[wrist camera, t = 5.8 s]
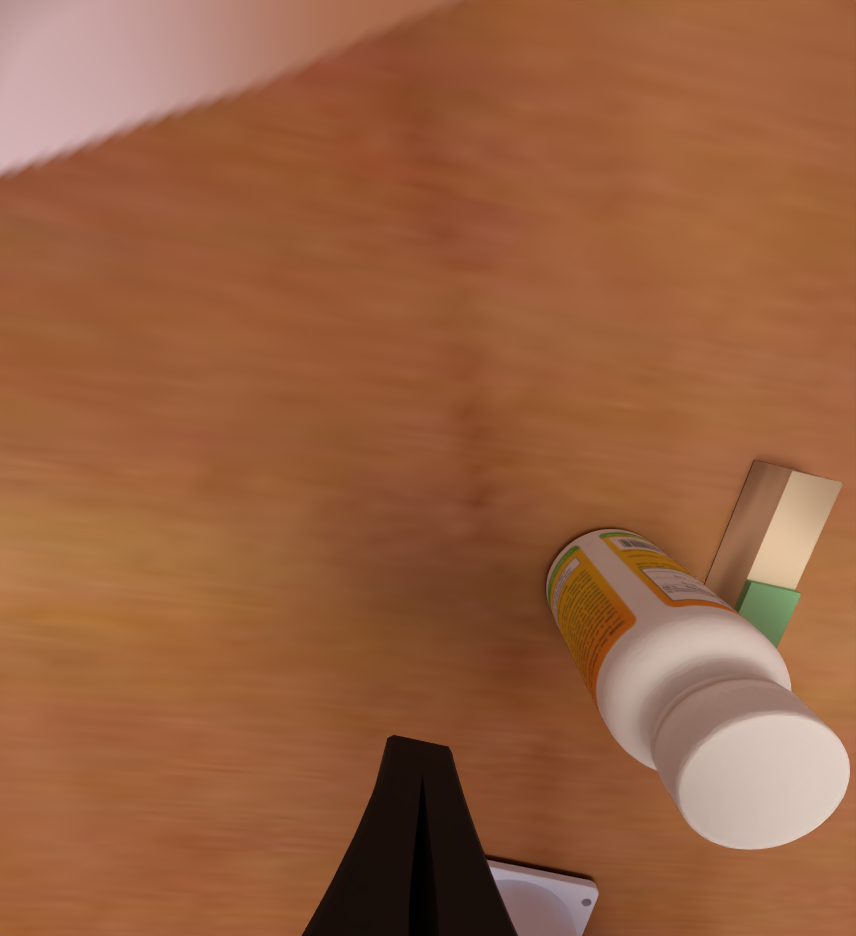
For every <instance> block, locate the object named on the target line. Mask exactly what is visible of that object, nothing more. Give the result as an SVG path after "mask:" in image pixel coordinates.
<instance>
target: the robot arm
mask: <svg viewBox="0 0 856 936" xmlns="http://www.w3.org/2000/svg"><path fill="white" fill-rule="evenodd" d="M598 895H599V893H598V889H597V886H596V884H595V883H594V882H593V881H590V880H586V879H581V878H576V877H571V876H566V875H561V874H556V873H551V872H546V871H541V870H536V869H531V868H526V867H521V866H516V865H511V864H506V863H501V862H496V861H491V860H487V859H486V857H485V854H484V851H483V849H482V846H481V843H480V841H479V838H478V835H477V833H476V830H475V827H474V824H473V821H472V818H471V815H470V812H469V809H468V806H467V803H466V800H465V797H464V794H463V791H462V787H461V784H460V781H459V777H458V774H457V770H456V767H455V763H454V759H453V755H452V752H451V750H450V749H449V747H448V746H443V745H438V744H434V743H429V742H424V741H420V740H415V739H410V738H406V737H401V736H397V735H393V736H391V737H389V738H387V742H386V746H385V750H384V754H383V757H382V761H381V765H380V769H379V773H378V777H377V781H376V784H375V788H374V790H373V793H372V796H371V798H370V800H369V803H368V805H367V808H366V810H365V812H364V815H363V817H362V819H361V822H360V824H359V826H358V829H357V831H356V833H355V835H354V837H353V839H352V842H351V844H350V846H349V848H348V850H347V852H346V854H345V856H344V858H343V860H342V862H341V864H340V866H339V868H338V870H337V872H336V874H335V876H334V878H333V880H332V882H331V884H330V886H329V887H328V889H327V891H326V893H325V895H324V897H323V899H322V900H321V902H320V904H319V906H318V908H317V910H316V911H315V913H314V915H313V917H312V918H311V920H310V922H309V924H308V926H307V927H306V929H305V931H304V933H303V934H302V936H582V934H583V932H584V930H585V927H586V925H587V922H588V920H589V917H590V915H591V913H592V910H593V908H594V905H595V903H596V900H597V898H598Z"/></svg>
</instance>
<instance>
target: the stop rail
mask: <svg viewBox="0 0 856 936" xmlns="http://www.w3.org/2000/svg"><path fill="white" fill-rule="evenodd" d="M842 484H843V482H839V481H835V480H832V479H828V478H824V477H821V476H817V475H813V474H810V473H806V472H802V471H799V470H794V469H790V468H786V467H781V466H777V465H773V464H769V463H764V462H760V461H756V460H754V463H753V465H752V468H751V470H750V473H749V475H748V478H747V480H746V483H745V485H744V488H743V490H742V493H741V495H740V498H739V500H738V503H737V505H736V508H735V510H734V513H733V515H732V518H731V520H730V523H729V525H728V528H727V530H726V533H725V535H724V538H723V540H722V543H721V545H720V548H719V550H718V553H717V555H716V558H715V560H714V563H713V565H712V568H711V570H710V572H709V575H708V577H707V580H706V582H705V586H706V587H707V588H708V589H709V590H711V591H712V592H713V593H714V594H716V595H717V596H718V597H719V598H720V599H722V600H723V601H724V602H725V603H727V604H728V605H729V606H730V607H732V608H733V609H734V610H735V611H737V612H738V613H739V614H740V615H742V616H743V617H744V618H745V619H746V620H748V621H749V622H750V623H751V624H752V625H753V626H755V627H756V628H757V629H758V630H759V631H760V632H761V633H762V634H763V635H765V637H766V638H767V639H768V640H769V641H770V642H771V643H772V644H773V645H774V646H775V648H776V649H777V646H778V644H779V642H780V640H781V638H782V635H783V633H784V631H785V629H786V627H787V624H788V622H789V620H790V618H791V616H792V613H793V611H794V609H795V607H796V605H797V602H798V600H799V598H800V596H801V593H799V592H798V591H796V590H795V588H796V586H797V584H798V582H799V580H800V577H801V575H802V573H803V571H804V568H805V566H806V564H807V562H808V560H809V557H810V555H811V553H812V551H813V548H814V546H815V544H816V542H817V540H818V537H819V535H820V533H821V531H822V528H823V526H824V524H825V522H826V520H827V517H828V515H829V513H830V511H831V509H832V506H833V504H834V502H835V500H836V497H837V495H838V493H839V491H840V489H841V486H842Z"/></svg>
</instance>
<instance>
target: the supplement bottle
mask: <svg viewBox="0 0 856 936" xmlns="http://www.w3.org/2000/svg"><path fill="white" fill-rule="evenodd" d="M546 594H547V601H548V604H549V607H550V610H551V612H552V615H553V617H554V619H555V622H556V624H557V626H558V628H559V630H560V632H561V634H562V636H563V638H564V640H565V642H566V644H567V646H568V648H569V650H570V652H571V655H572V657H573V659H574V661H575V663H576V665H577V667H578V669H579V672H580V674H581V676H582V678H583V680H584V682H585V685H586V686H587V688H588V690H589V692H590V694H591V696H592V699H593V700H594V703H595V705H596V707H597V709H598V711H599V713H600V715H601V717H602V719H603V720H604V722H605V724H606V725H607V727H608V729H609V731H610V733H611V734H612V736H613V737H614V738H615V740H616V741H617V742H618V743H619V745H620V746H621V747H622V748H623V749H624V750H625V751H626V752H627V753H629V754H630V755H631V756H632V757H634V758H635V759H636V760H638V761H639V762H641V763H643V764H644V765H646V766H648V767H650V768H652V769H654V770H657V772H658V774H659V776H660V778H661V781H662V782H663V784H664V786H665V787H666V789H667V791H668V792H669V794H670V796H671V797H672V799H673V801H674V802H675V804H676V806H677V808H678V809H679V811H680V813H681V814H682V816H683V818H684V819H685V820H686V821H687V823H688V824H689V825H690V826H691V827H692V828H693V829H694V830H695V831H696V832H697V833H698V834H700V835H701V836H702V837H704V838H706V839H708V840H710V841H711V842H714V843H716V844H719V845H722V846H726V847H729V848H735V849H764V848H770V847H775V846H779V845H783V844H786V843H788V842H791V841H794V840H796V839H798V838H800V837H802V836H804V835H806V834H808V833H809V832H811V831H812V830H813V829H815V828H816V827H818V826H819V825H820V824H821V823H822V822H824V821H825V820H826V819H827V818H828V817H829V816H830V815H831V814H832V813H833V811H834V810H835V809H836V808H837V806H838V805H839V803H840V802H841V800H842V798H843V796H844V794H845V792H846V789H847V786H848V782H849V776H850V770H849V767H850V765H849V760H848V755H847V753H846V750H845V748H844V746H843V744H842V743H841V741H840V739H839V738H838V737H837V736H836V735H835V733H834V732H833V731H832V730H831V729H830V728H829V727H828V726H827V725H826V724H825V723H824V722H823V721H822V720H821V719H820V718H819V717H818V716H817V715H816V714H815V713H814V712H813V711H812V710H810V709H809V708H808V707H807V706H806V705H805V704H804V703H803V701H802V700H801V699H800V698H798V697H797V696H796V695H795V694H794V693H792V692H791V682H790V677H789V674H788V671H787V668H786V665H785V663H784V661H783V659H782V657H781V655H780V654H779V652H778V651H777V649H776V648H775V646H774V645H773V644H772V643H771V642H770V641H769V640H768V639H767V638H766V637H765V635H763V634H762V633H761V632H760V631H759V630H758V629H757V628H756V627H755V626H753V625H752V624H751V623H750V622H749V621H748V620H746V619H745V618H744V617H743V616H742V615H740V614H739V613H738V612H737V611H735V610H734V609H733V608H732V607H730V606H729V605H728V604H727V603H725V602H724V601H723V600H722V599H720V598H719V597H718V596H717V595H716V594H714V593H713V592H712V591H711V590H709V589H708V588H707V587H706V586H705V585H703V584H702V583H701V582H700V581H699V580H697V579H696V578H695V577H694V576H692V575H691V574H690V573H689V572H688V571H686V570H685V569H684V568H683V567H681V566H680V565H679V564H678V563H676V562H675V561H674V560H673V559H671V558H670V557H669V556H668V555H667V554H665V553H664V552H663V551H662V550H660V549H659V548H658V547H657V546H655V545H654V544H653V543H651V542H650V541H648V540H647V539H645V538H643V537H642V536H640V535H638V534H635V533H632V532H629V531H625V530H618V529H604V530H598V531H594V532H590V533H588V534H585V535H583V536H581V537H579V538H577V539H576V540H574V541H573V542H571V543H570V544H569V545H568V546H566V547H565V548H564V549H563V550H562V551H561V553H560V554H559V555H558V556H557V558H556V559H555V561H554V562H553V564H552V566H551V568H550V571H549V574H548V577H547V583H546Z"/></svg>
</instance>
